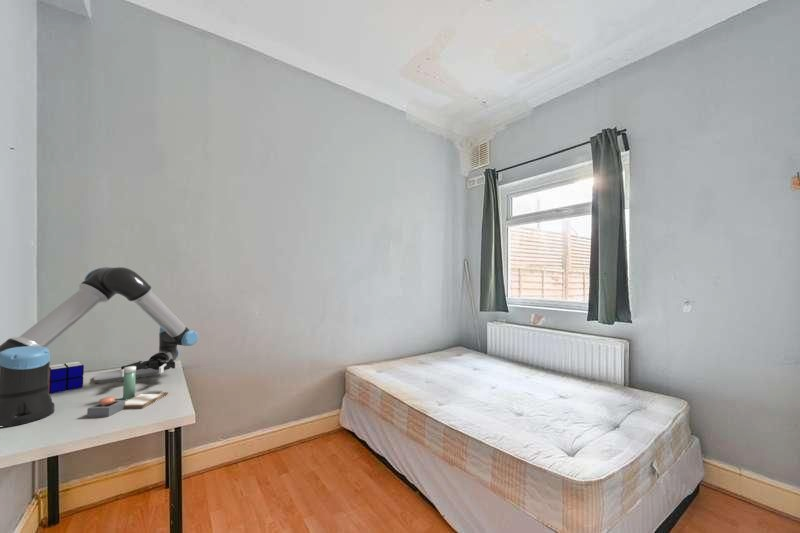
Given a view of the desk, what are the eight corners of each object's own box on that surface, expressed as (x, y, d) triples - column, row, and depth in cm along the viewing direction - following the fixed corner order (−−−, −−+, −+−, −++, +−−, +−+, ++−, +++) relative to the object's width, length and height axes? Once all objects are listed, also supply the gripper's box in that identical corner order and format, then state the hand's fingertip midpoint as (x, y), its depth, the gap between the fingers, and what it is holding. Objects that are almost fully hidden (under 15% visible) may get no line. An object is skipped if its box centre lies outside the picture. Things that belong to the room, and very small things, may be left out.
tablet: (164, 375, 159) (164, 370, 159) (92, 386, 142) (93, 381, 142) (162, 368, 172) (162, 363, 172) (96, 377, 155) (96, 372, 155)
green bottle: (130, 399, 125) (131, 368, 125) (119, 400, 125) (121, 368, 125) (137, 396, 129) (138, 365, 129) (127, 396, 128) (128, 366, 129)
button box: (108, 416, 109) (109, 407, 110) (87, 417, 109) (87, 408, 109) (124, 408, 116) (125, 400, 117) (104, 408, 116) (105, 400, 116)
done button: (108, 405, 111) (108, 400, 111) (96, 405, 111) (96, 401, 111) (117, 400, 115) (117, 396, 115) (105, 401, 115) (106, 396, 115)
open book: (142, 408, 116) (142, 403, 116) (113, 409, 116) (113, 404, 116) (167, 394, 130) (168, 390, 130) (142, 395, 130) (142, 390, 130)
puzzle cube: (49, 394, 131) (50, 369, 132) (46, 389, 137) (47, 365, 138) (83, 387, 139) (84, 364, 140) (78, 383, 145) (79, 361, 146)
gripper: (189, 365, 160) (174, 378, 140) (129, 370, 152) (104, 384, 132) (190, 350, 160) (175, 360, 140) (129, 354, 153) (105, 365, 132)
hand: (140, 372), depth 136 cm, fingers open, 13 cm apart
